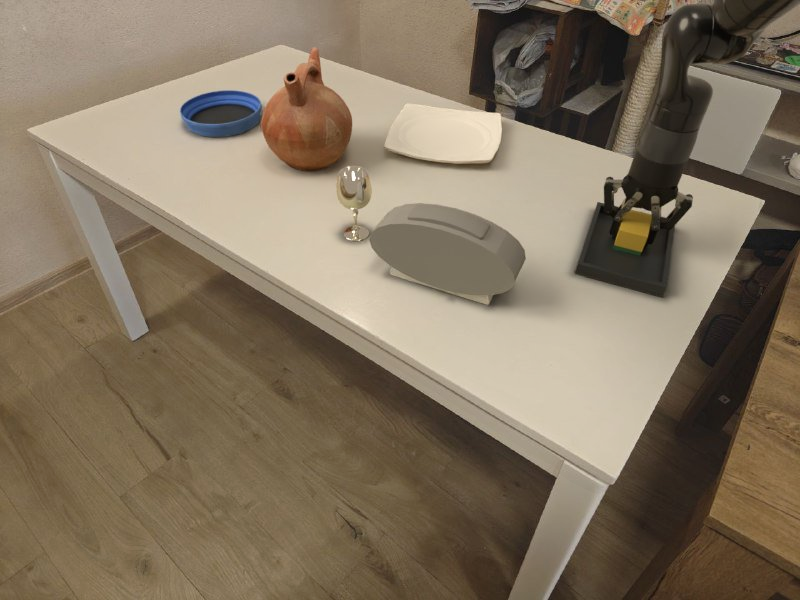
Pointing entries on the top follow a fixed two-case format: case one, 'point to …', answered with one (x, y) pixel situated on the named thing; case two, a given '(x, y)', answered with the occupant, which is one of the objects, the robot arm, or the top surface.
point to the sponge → (633, 232)
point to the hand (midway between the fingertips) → (629, 239)
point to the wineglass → (354, 197)
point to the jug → (307, 120)
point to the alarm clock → (448, 250)
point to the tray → (625, 258)
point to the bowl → (221, 113)
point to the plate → (445, 134)
